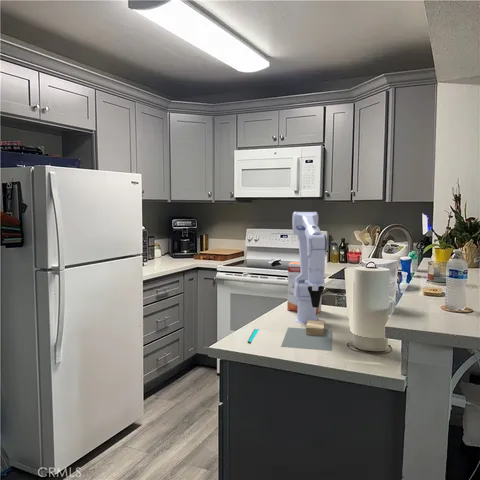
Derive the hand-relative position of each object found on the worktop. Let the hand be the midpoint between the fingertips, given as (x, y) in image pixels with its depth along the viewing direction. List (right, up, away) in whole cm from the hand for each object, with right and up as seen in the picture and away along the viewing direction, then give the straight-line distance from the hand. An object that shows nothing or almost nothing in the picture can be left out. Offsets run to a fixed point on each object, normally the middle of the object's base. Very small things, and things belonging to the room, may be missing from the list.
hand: (315, 307), depth 147 cm
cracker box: (+1, -7, +34) cm, 35 cm away
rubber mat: (-3, -10, -6) cm, 12 cm away
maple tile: (-1, -8, -2) cm, 9 cm away
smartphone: (-19, -11, -3) cm, 22 cm away
